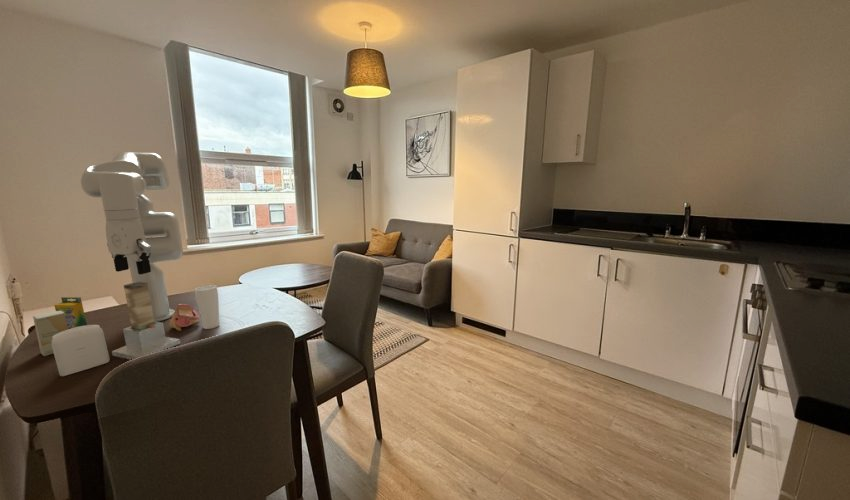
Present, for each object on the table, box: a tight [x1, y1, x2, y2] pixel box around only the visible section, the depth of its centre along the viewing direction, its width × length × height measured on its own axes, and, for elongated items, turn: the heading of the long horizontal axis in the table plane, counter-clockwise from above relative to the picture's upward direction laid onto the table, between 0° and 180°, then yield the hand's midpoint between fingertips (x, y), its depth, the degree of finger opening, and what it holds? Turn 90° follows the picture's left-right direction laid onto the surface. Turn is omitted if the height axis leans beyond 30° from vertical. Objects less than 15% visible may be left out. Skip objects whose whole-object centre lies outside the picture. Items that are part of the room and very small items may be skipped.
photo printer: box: [52, 324, 111, 377], centre depth 94 cm, size 10×4×12 cm, turn 140°
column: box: [123, 282, 155, 330], centre depth 102 cm, size 4×4×14 cm
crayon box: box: [54, 296, 88, 329], centre depth 120 cm, size 7×3×12 cm, turn 90°
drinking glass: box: [194, 284, 221, 330], centre depth 120 cm, size 7×7×15 cm
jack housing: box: [111, 321, 181, 361], centre depth 104 cm, size 12×12×8 cm
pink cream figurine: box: [169, 303, 200, 331], centre depth 122 cm, size 9×10×10 cm
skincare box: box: [32, 310, 68, 357], centre depth 104 cm, size 6×4×12 cm
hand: (133, 271), depth 101 cm, fingers open, 9 cm apart
